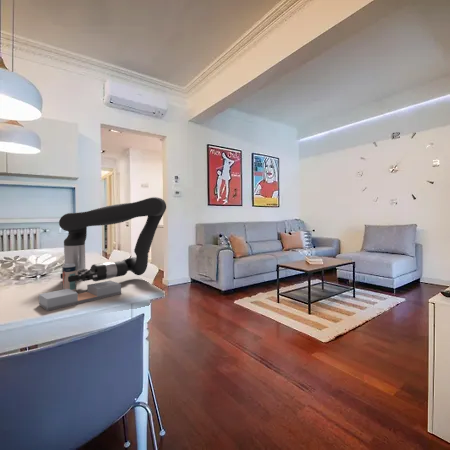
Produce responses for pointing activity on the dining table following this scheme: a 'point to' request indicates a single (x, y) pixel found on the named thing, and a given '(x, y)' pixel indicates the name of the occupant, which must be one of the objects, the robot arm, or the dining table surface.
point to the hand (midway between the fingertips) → (64, 277)
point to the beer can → (67, 271)
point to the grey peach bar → (78, 295)
